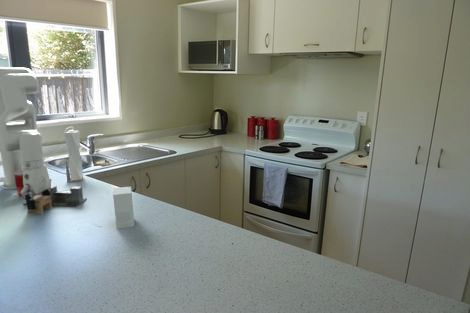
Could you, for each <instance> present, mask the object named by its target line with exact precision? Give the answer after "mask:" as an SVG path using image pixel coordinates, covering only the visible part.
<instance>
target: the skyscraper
mask: <svg viewBox="0 0 470 313" xmlns="http://www.w3.org/2000/svg"><path fill="white" fill-rule="evenodd" d="M70 128H72V129H70ZM68 129H69V130H68ZM67 130H68V131H67ZM80 134H81V133H80V130H79V129H78V130H77V129H76V130H74V126H72V125H71V126H68V127H66V128H65V130H64V131H63V135H64V141H65V144H66V145H65V146H66V149H67V152H68V153H67V154H68V159H67V158H65V172H66V173H65V174H66V183H76V182H77V183H79V182H83V179H84V172H83V163H82V157H81V156H82V155H81V151H80V147H81V146H80V143H81V141H80V140H81V137H80Z"/></svg>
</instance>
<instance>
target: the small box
mask: <svg viewBox="0 0 470 313" xmlns="http://www.w3.org/2000/svg"><path fill="white" fill-rule="evenodd" d="M132 191H133V190H132V186H123V187H121V186H120V187H114V188H113V191H112V192H113V193H112V196H113V197H112V198H113V206H114V214H115V217H114V218H115V226H116V229H117V230H118V229H119V230H120V229H127V228H134V227H135V216H134V203H133V196H132V195H133V194H132Z"/></svg>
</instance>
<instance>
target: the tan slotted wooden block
mask: <svg viewBox="0 0 470 313" xmlns="http://www.w3.org/2000/svg"><path fill="white" fill-rule="evenodd" d="M33 199H34V200H35V207H36V209H34V210H29V209H27V214H30V215H43V214H44V209H45V210H46V209H47V210H51V209H52V208H53V206H52V204H51V197H50V196H46V195H36V196H34V198H33Z"/></svg>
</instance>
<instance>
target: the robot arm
mask: <svg viewBox="0 0 470 313" xmlns="http://www.w3.org/2000/svg"><path fill="white" fill-rule="evenodd" d="M38 92H40V83H39V80H38V77H37V76H36V75H35V73H34V72H33V71H32V70H31V69H30V68H27V67H0V156H1V157H0V158H1V163H2V170H3V176H4V177H3V176H2V177H0V183H3V185H2V186H1V187H2V189H3V190H17V188H16V182H15V176H14V173H15V172H17V171H20V170H23V185H24V188H23V189H22V191H21V192H20V193H21V195H22V197H21V198H23V199H24V201H25V203H26V204H27V206H26V210H28V209H29V210H34V209H36V207H35V200H34V199H33V198H34V195H35V194H38V193H40V192H42V191H43V192H42V195H46V196H50V192H49V191H50V190H51V189H50V187H51V186H52V184H51V183H52V179H51V178H50V174H49V172H48V169H47V165H46V164H45V158H44V151H43V144H42V143H43V139H42V138H43V137H42V134H41V132H39V131H38V128H37V127H38V126H37V114H36V107H35V106H34V104H33V102H32V101H29V100H28V98H27V95H31V94H32V95H34V94H39V93H38ZM29 194H31V196H29ZM50 197H51V196H50Z"/></svg>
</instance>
